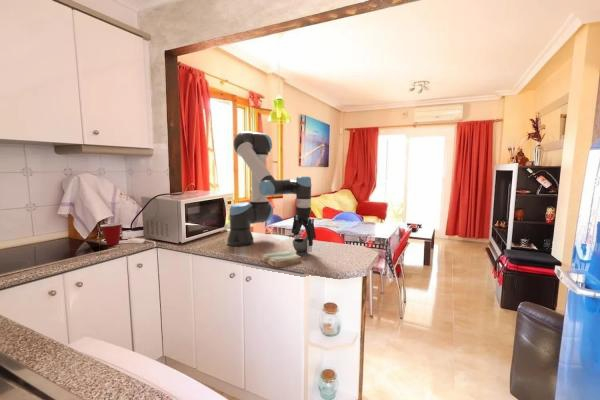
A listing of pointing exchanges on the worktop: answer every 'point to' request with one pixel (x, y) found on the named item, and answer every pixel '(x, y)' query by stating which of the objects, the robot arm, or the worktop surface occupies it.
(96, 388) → the worktop surface
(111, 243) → the plastic cup
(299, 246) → the mortar and pestle
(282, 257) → the beige flat pad
